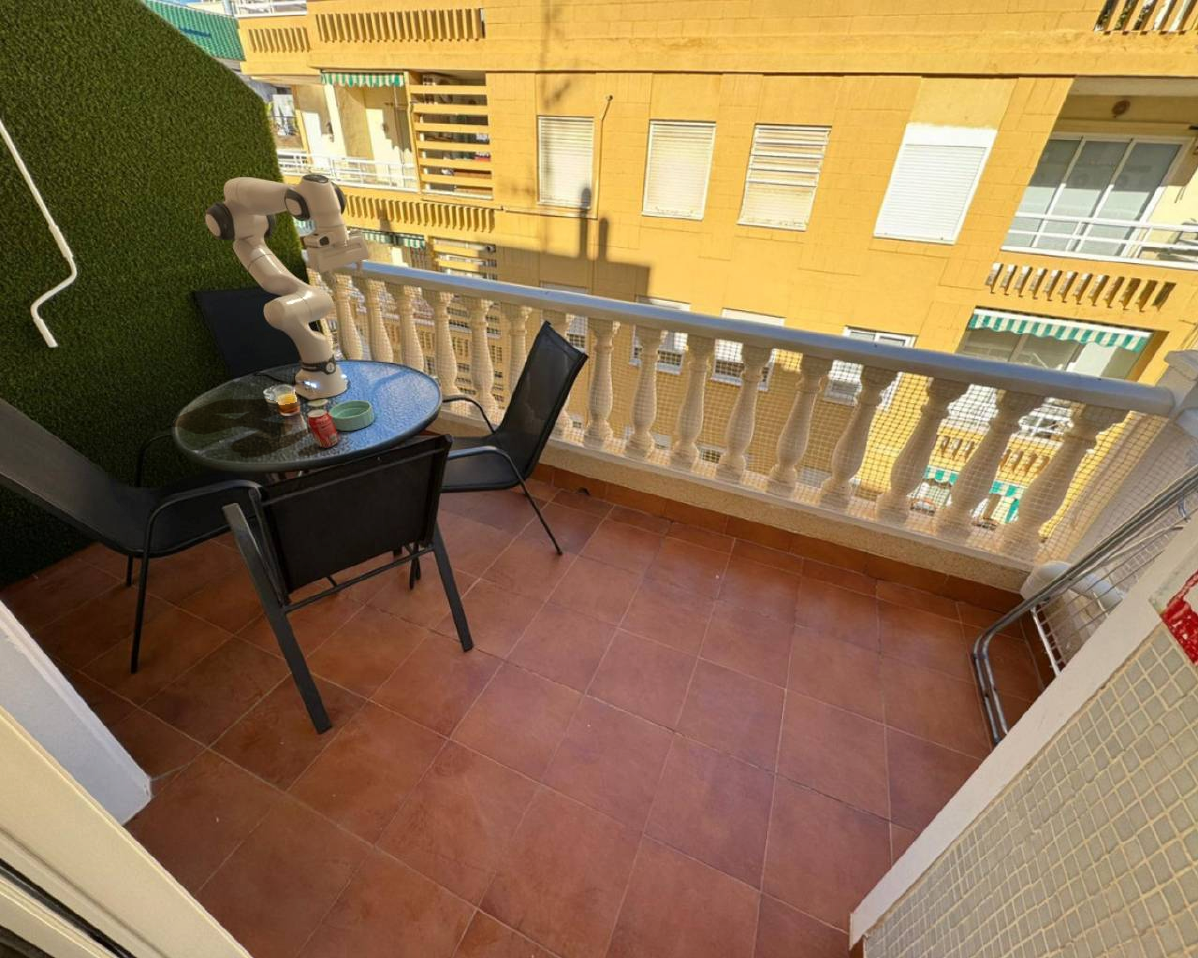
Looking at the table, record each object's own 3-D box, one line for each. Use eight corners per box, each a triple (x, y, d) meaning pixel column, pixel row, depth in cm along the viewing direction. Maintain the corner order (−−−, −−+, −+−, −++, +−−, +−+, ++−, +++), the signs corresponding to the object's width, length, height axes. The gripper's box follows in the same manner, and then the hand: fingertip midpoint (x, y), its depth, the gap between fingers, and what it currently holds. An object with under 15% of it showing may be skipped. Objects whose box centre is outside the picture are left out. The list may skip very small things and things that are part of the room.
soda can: (322, 439, 174) (310, 408, 167) (342, 438, 175) (331, 407, 168) (314, 449, 169) (301, 418, 162) (335, 448, 169) (324, 417, 162)
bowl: (325, 426, 181) (320, 413, 178) (355, 410, 192) (351, 397, 189) (353, 435, 176) (348, 421, 173) (383, 417, 187) (379, 404, 184)
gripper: (354, 226, 166) (366, 270, 175) (298, 240, 152) (314, 286, 161) (367, 228, 164) (379, 272, 172) (311, 243, 150) (327, 289, 159)
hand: (347, 279), depth 167 cm, fingers open, 8 cm apart
